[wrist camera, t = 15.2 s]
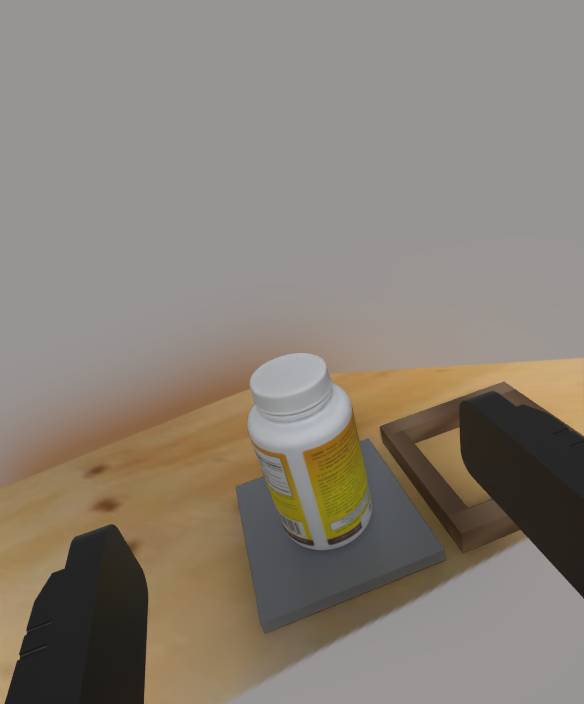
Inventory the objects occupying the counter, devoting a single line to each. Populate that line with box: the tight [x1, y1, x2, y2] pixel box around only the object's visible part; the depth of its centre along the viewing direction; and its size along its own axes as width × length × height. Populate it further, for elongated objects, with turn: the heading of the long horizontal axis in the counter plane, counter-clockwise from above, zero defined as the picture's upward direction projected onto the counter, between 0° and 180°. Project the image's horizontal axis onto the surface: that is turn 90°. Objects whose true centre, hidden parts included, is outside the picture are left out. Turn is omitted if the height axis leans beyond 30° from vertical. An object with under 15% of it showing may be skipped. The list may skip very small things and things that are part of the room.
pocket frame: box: [380, 382, 584, 553], centre depth 28 cm, size 10×10×2 cm
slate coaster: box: [236, 439, 446, 633], centre depth 27 cm, size 10×10×1 cm
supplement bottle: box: [247, 353, 372, 550], centre depth 24 cm, size 6×6×10 cm
